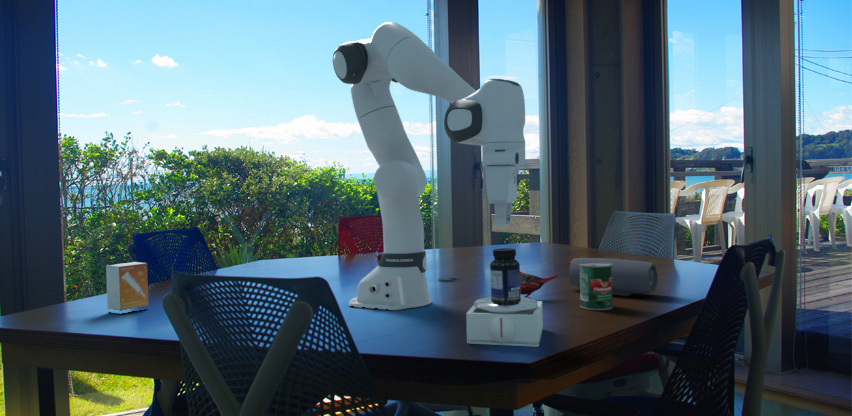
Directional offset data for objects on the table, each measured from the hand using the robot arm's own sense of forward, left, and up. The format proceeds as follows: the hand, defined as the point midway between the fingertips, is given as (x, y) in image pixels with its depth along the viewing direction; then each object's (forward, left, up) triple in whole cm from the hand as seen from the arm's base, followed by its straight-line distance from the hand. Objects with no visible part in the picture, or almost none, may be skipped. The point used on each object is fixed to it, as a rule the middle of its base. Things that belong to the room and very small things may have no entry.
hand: (503, 224), depth 115 cm
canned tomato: (+19, +31, -23) cm, 43 cm away
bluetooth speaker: (+24, +50, -23) cm, 60 cm away
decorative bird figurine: (+2, +38, -23) cm, 44 cm away
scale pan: (0, 0, -20) cm, 20 cm away
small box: (-104, +9, -23) cm, 107 cm away
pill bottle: (0, 0, -16) cm, 16 cm away
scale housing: (0, 0, -23) cm, 23 cm away
